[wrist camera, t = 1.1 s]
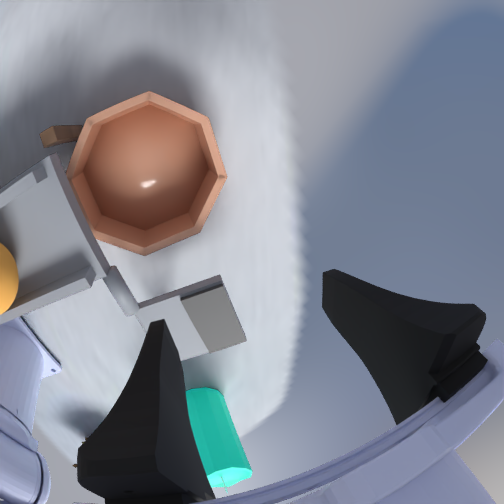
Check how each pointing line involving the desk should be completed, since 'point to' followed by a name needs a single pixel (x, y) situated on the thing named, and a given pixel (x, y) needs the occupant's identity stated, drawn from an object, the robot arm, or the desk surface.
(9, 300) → the ball
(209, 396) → the candle
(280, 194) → the desk surface
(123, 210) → the bowl
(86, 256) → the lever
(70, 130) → the lever stand
